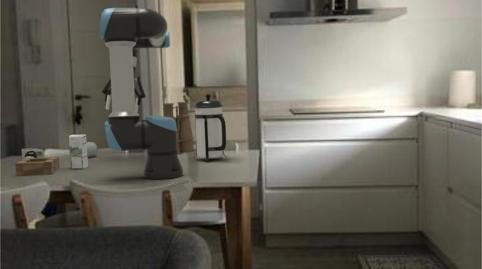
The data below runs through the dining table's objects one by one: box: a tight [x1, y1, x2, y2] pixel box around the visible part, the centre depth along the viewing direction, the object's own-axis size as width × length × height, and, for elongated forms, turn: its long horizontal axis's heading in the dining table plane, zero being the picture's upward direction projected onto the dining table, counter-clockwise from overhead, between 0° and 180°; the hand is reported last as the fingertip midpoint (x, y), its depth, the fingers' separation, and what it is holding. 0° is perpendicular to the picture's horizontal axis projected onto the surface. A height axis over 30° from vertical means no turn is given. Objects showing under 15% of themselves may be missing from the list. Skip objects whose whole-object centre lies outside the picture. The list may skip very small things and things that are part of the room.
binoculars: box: [162, 101, 195, 155], centre depth 270 cm, size 21×10×25 cm, turn 145°
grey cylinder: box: [86, 141, 99, 158], centre depth 265 cm, size 11×8×8 cm
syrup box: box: [68, 134, 89, 170], centre depth 233 cm, size 6×6×14 cm
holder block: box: [14, 156, 60, 177], centre depth 227 cm, size 14×14×5 cm
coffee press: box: [193, 93, 227, 163], centre depth 243 cm, size 17×16×30 cm
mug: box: [21, 147, 45, 160], centre depth 253 cm, size 10×7×7 cm, turn 129°
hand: (121, 110), depth 250 cm, fingers open, 13 cm apart
